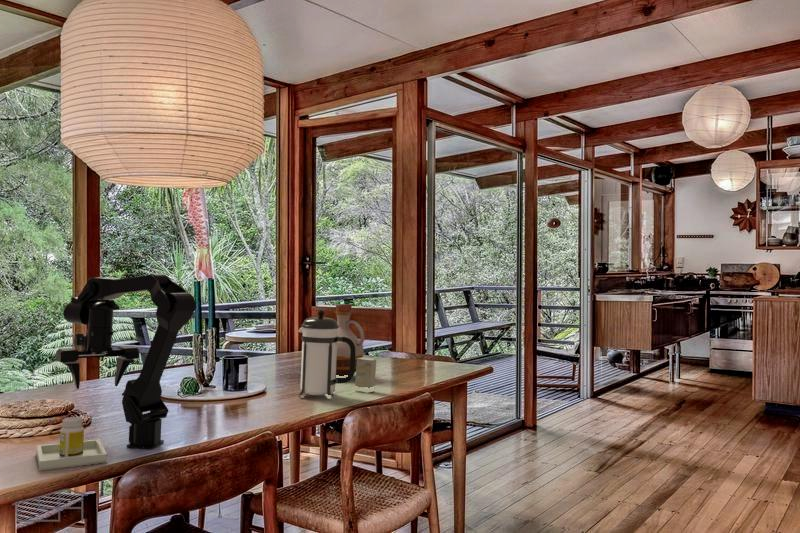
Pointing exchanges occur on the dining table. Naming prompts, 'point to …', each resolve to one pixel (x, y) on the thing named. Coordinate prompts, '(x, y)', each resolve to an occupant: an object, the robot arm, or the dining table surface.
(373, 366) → the skincare box
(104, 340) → the robot arm
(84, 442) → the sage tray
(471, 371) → the dining table surface
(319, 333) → the coffee press
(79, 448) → the supplement bottle
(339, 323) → the jug
